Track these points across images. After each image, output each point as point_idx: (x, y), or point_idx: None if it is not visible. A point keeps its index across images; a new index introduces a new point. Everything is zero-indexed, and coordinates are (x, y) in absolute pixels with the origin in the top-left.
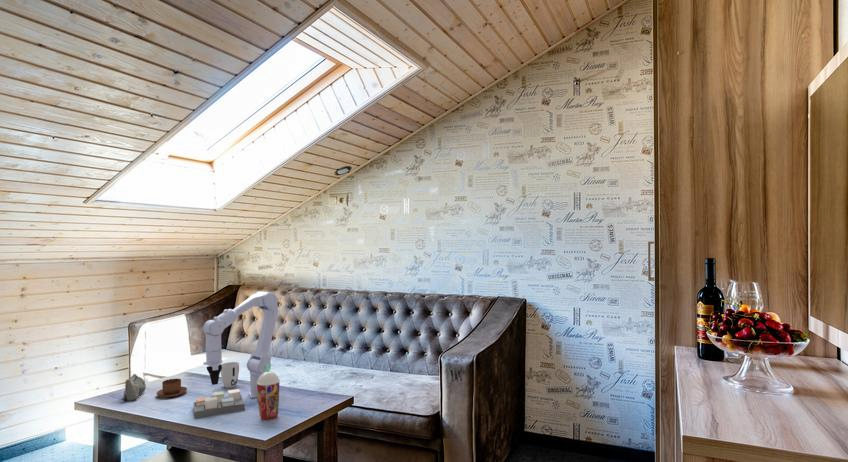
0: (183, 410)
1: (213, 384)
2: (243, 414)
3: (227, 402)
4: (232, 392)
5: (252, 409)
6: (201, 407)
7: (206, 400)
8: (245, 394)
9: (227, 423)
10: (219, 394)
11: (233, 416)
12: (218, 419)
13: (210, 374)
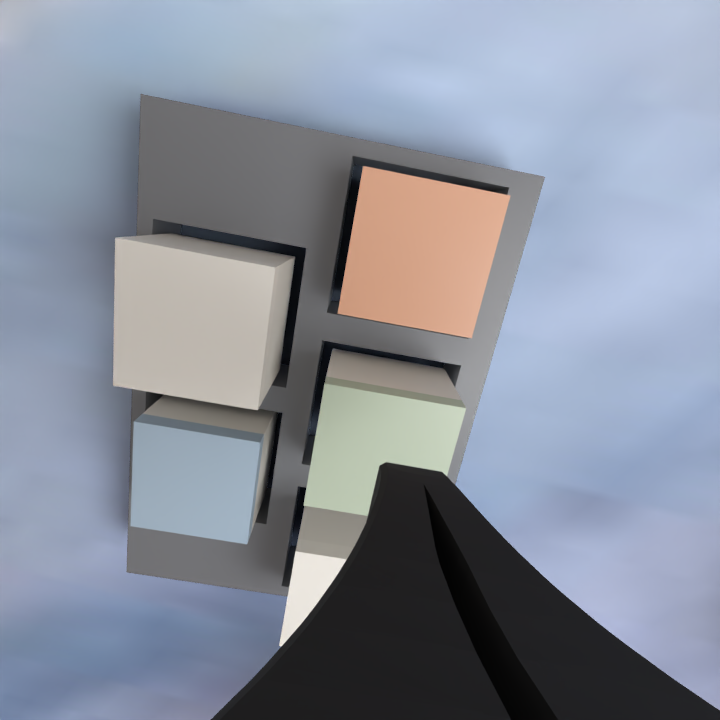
0: (530, 64)
1: (377, 484)
2: (41, 495)
3: (138, 463)
4: (303, 586)
5: (129, 575)
6: (263, 210)
7: (152, 260)
8: None
9: None
10: (324, 460)
11: (30, 424)
12: (11, 302)
13: (310, 628)
